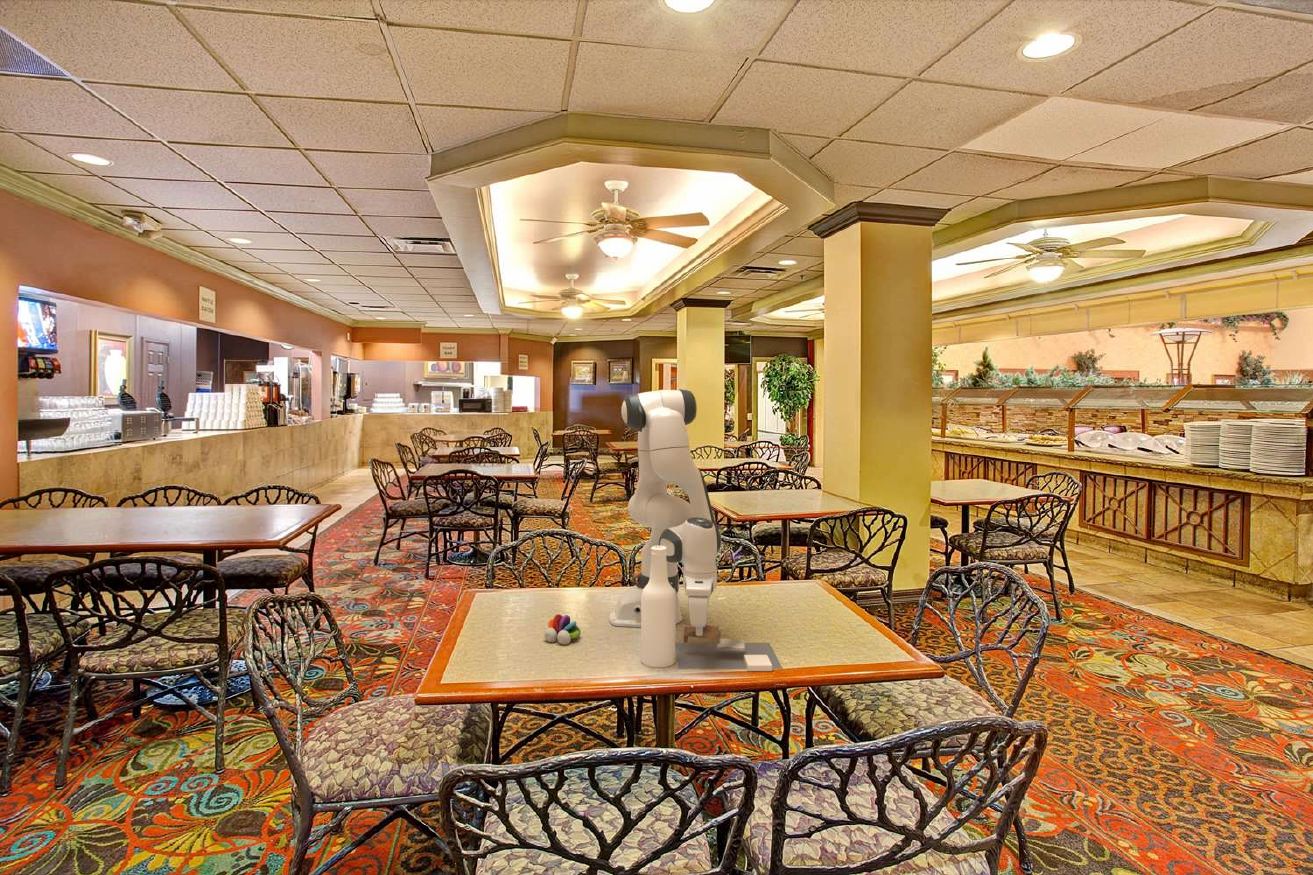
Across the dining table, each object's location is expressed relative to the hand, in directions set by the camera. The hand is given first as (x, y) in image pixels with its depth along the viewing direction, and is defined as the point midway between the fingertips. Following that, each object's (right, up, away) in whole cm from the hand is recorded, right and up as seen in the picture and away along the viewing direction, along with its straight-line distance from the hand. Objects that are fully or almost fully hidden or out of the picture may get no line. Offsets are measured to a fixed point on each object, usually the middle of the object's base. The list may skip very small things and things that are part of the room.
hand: (699, 632), depth 172 cm
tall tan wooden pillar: (+4, -3, 0) cm, 5 cm away
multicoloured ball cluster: (-38, -6, +12) cm, 40 cm away
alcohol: (-11, -7, -5) cm, 14 cm away
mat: (+7, -6, 0) cm, 9 cm away
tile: (+14, -5, -4) cm, 15 cm away
